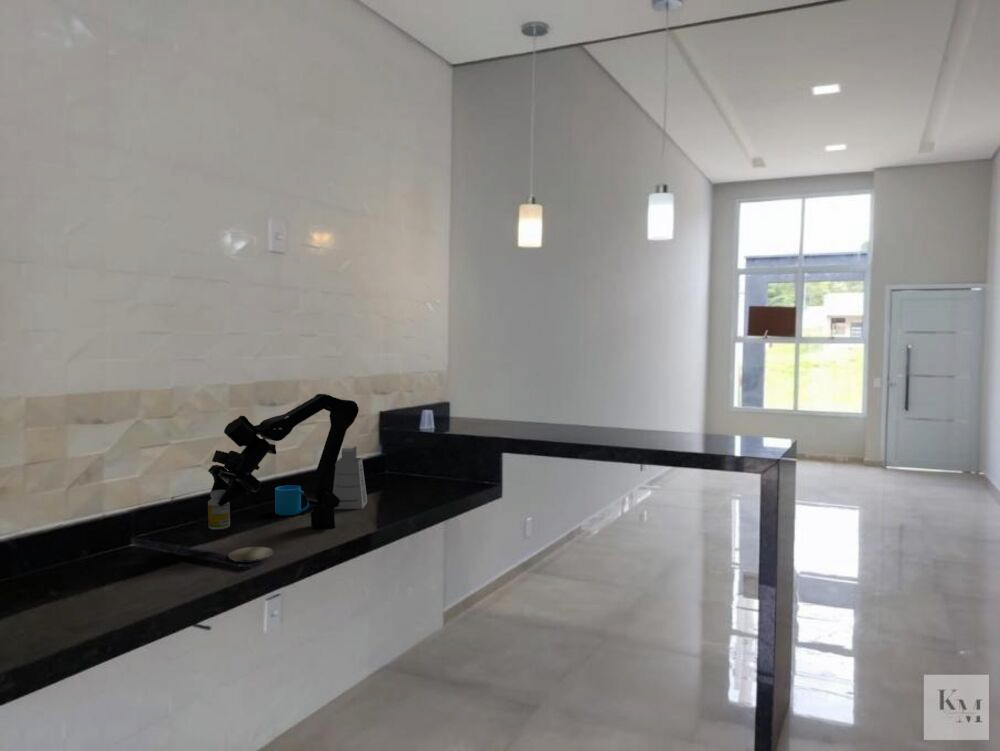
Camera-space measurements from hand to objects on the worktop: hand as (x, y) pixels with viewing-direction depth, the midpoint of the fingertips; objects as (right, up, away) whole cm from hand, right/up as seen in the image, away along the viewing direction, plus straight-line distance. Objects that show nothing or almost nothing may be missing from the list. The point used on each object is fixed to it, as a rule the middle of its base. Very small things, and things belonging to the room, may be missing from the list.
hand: (213, 503), depth 194 cm
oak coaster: (+11, -13, -5) cm, 18 cm away
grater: (+25, -10, +55) cm, 61 cm away
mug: (+9, -11, +44) cm, 46 cm away
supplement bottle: (+1, -7, +1) cm, 7 cm away
